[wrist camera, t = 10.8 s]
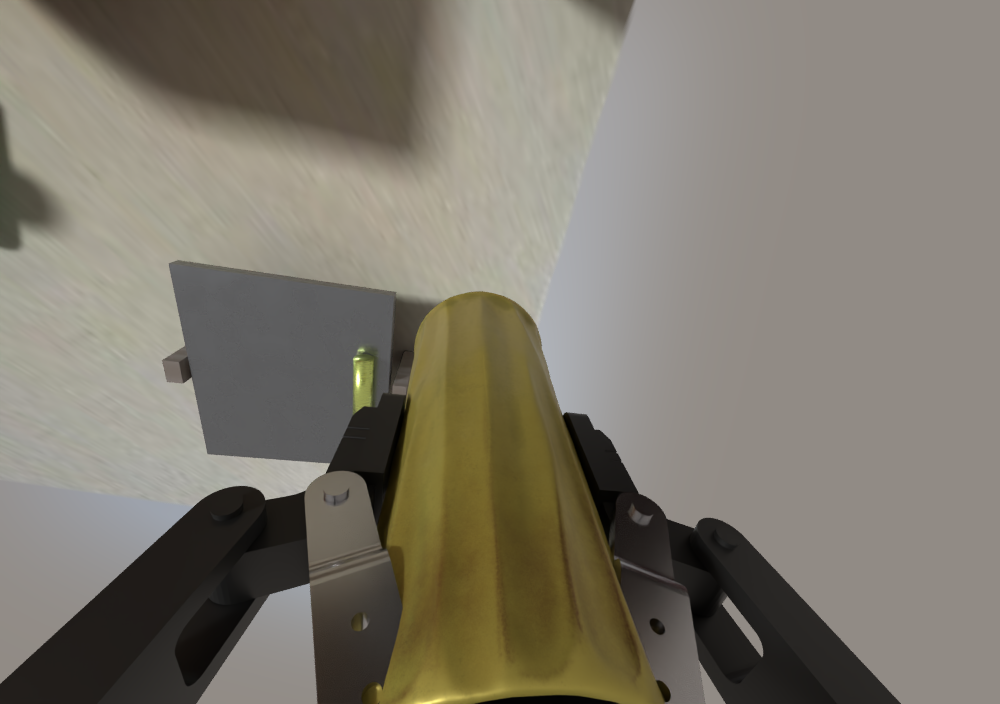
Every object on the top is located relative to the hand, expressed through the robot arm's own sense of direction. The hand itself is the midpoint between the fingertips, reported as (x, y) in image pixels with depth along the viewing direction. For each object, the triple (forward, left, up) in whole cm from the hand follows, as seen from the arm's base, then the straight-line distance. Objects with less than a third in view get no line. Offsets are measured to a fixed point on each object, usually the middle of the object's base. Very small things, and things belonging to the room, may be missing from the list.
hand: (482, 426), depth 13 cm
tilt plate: (+11, -14, -19) cm, 26 cm away
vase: (0, 0, -6) cm, 6 cm away
